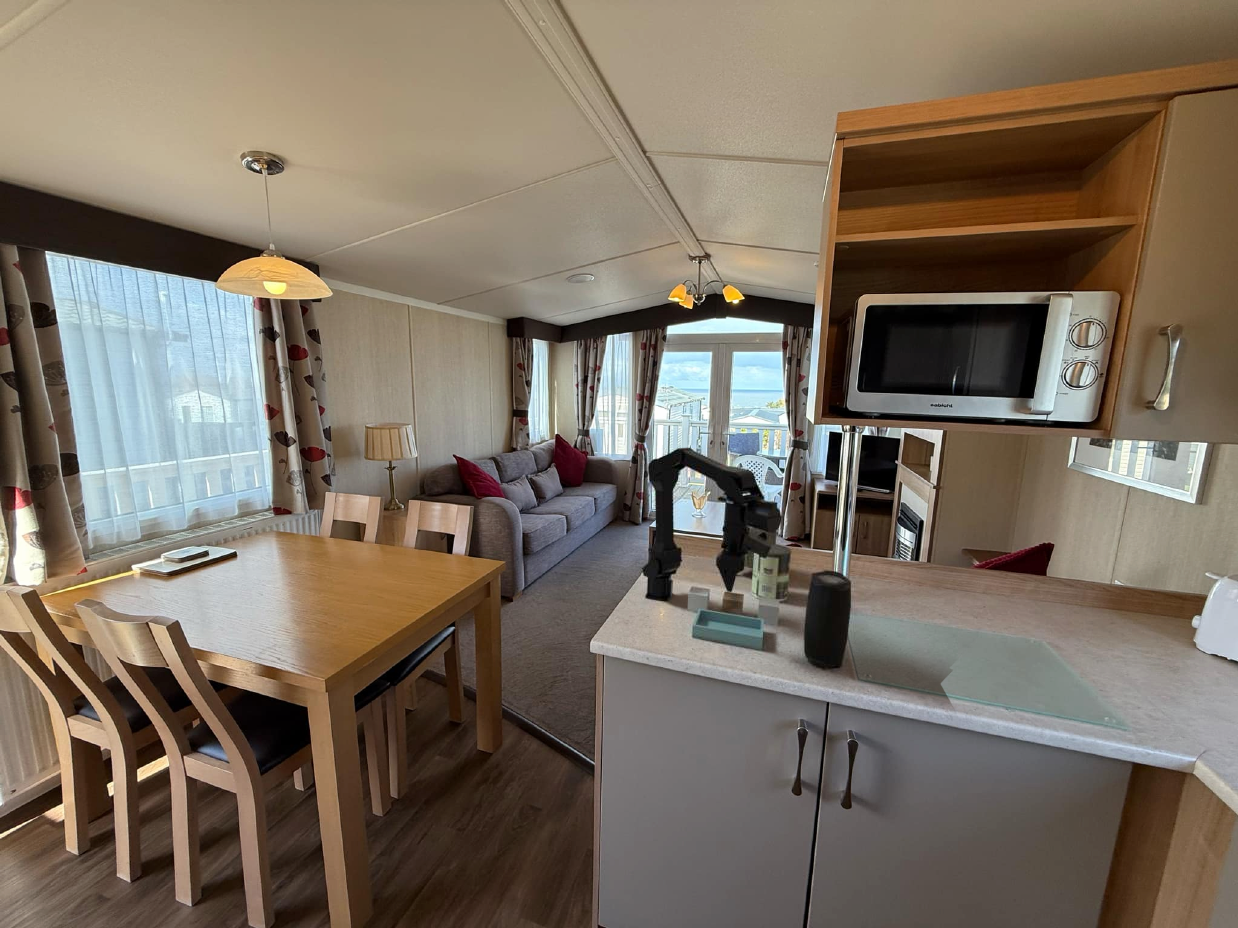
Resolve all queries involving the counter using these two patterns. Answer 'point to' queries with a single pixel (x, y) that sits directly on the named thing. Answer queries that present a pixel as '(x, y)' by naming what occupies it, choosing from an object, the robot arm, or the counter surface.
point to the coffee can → (772, 573)
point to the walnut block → (732, 603)
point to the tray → (728, 628)
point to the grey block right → (768, 610)
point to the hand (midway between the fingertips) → (731, 584)
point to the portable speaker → (827, 619)
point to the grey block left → (698, 599)
